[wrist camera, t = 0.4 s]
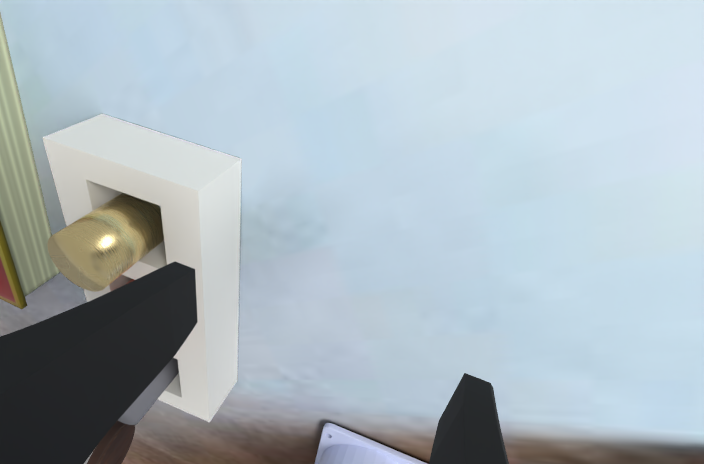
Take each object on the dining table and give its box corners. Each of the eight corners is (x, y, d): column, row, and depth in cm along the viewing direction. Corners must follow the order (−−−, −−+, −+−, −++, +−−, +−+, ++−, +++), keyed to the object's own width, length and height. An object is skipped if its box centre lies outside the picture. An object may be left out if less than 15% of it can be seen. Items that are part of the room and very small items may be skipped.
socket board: (237, 380, 32) (209, 422, 29) (142, 340, 33) (107, 377, 30) (241, 158, 21) (198, 190, 18) (102, 113, 22) (42, 137, 20)
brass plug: (171, 250, 22) (112, 300, 19) (122, 231, 23) (56, 277, 20) (166, 201, 21) (100, 247, 17) (112, 182, 21) (39, 224, 18)
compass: (73, 363, 39) (-5, 435, 33) (150, 402, 38) (83, 483, 32) (82, 408, 44) (15, 478, 38) (150, 443, 43) (92, 521, 37)
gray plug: (184, 378, 29) (141, 431, 26) (145, 361, 29) (99, 412, 26) (181, 349, 27) (135, 402, 24) (140, 332, 28) (89, 382, 24)
